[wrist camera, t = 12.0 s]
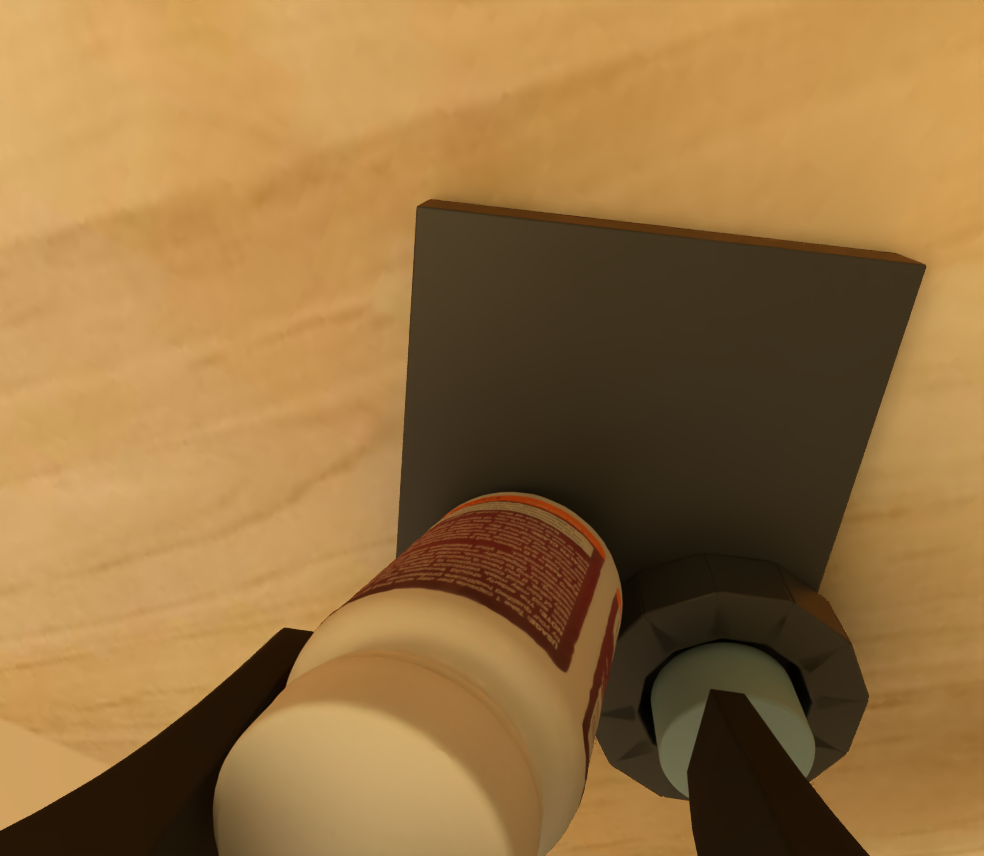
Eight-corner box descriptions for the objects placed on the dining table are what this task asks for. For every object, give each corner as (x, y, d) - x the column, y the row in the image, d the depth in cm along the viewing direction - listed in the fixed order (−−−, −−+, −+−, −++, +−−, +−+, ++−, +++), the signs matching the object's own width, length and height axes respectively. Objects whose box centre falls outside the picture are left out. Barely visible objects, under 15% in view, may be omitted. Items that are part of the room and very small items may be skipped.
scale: (787, 728, 20) (822, 823, 18) (397, 671, 21) (372, 755, 18) (948, 259, 15) (1032, 289, 13) (428, 198, 16) (399, 214, 13)
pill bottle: (388, 530, 17) (121, 731, 9) (570, 456, 16) (438, 619, 8) (472, 710, 17) (282, 1056, 9) (660, 653, 16) (621, 1009, 8)
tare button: (772, 757, 17) (793, 821, 16) (639, 737, 18) (646, 799, 16) (808, 651, 16) (835, 709, 15) (664, 630, 16) (675, 686, 15)
